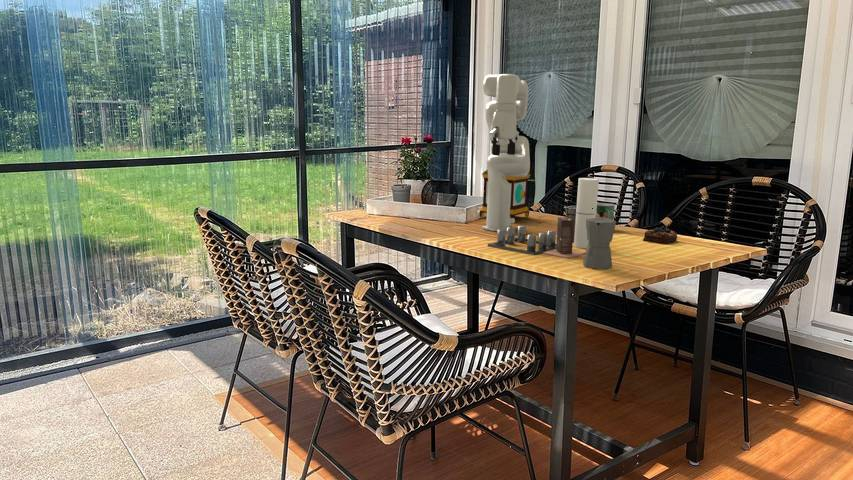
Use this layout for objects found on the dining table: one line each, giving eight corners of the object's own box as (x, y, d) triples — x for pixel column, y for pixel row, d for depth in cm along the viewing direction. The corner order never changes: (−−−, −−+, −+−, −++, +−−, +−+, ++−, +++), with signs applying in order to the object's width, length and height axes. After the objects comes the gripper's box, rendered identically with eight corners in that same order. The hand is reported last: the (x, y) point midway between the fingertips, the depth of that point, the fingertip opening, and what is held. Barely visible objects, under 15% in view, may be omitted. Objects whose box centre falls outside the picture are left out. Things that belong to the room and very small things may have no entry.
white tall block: (569, 245, 245) (574, 178, 240) (585, 244, 247) (590, 177, 243) (581, 249, 238) (586, 180, 233) (597, 247, 241) (602, 179, 236)
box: (555, 250, 232) (557, 216, 229) (567, 250, 232) (570, 217, 230) (559, 254, 226) (561, 219, 223) (572, 254, 226) (574, 219, 224)
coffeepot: (610, 272, 203) (614, 215, 200) (579, 269, 207) (583, 212, 203) (615, 262, 217) (619, 208, 214) (586, 259, 221) (590, 206, 217)
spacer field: (518, 239, 253) (519, 223, 252) (564, 247, 240) (565, 231, 239) (487, 246, 239) (488, 229, 238) (534, 254, 226) (535, 237, 225)
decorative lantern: (514, 223, 291) (517, 155, 286) (475, 218, 302) (477, 152, 296) (532, 217, 308) (536, 153, 302) (495, 213, 318) (498, 151, 313)
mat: (560, 249, 237) (561, 247, 237) (585, 253, 230) (585, 252, 230) (542, 253, 228) (542, 252, 228) (568, 258, 221) (568, 257, 221)
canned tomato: (614, 229, 282) (616, 203, 280) (610, 232, 275) (612, 206, 273) (595, 227, 286) (597, 202, 284) (591, 230, 279) (593, 204, 277)
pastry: (639, 241, 257) (641, 226, 256) (652, 237, 266) (653, 223, 265) (667, 245, 250) (668, 230, 249) (679, 241, 259) (681, 227, 258)
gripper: (510, 108, 252) (508, 153, 255) (483, 107, 239) (481, 155, 242) (527, 109, 247) (524, 154, 250) (500, 108, 234) (498, 156, 237)
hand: (503, 154), depth 246 cm, fingers open, 9 cm apart
